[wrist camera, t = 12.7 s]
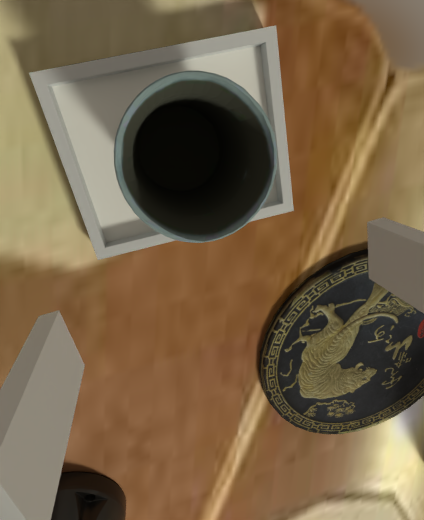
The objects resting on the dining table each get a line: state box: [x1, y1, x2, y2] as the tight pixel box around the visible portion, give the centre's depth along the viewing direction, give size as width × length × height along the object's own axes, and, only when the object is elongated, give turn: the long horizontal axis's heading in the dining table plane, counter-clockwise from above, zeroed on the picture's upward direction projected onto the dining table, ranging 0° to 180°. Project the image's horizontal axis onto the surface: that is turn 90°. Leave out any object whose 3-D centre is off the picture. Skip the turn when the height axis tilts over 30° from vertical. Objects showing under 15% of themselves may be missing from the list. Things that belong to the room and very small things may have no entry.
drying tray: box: [29, 26, 294, 260], centre depth 31 cm, size 20×16×2 cm
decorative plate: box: [259, 249, 424, 434], centre depth 46 cm, size 30×2×30 cm
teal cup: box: [114, 71, 277, 243], centre depth 26 cm, size 10×10×12 cm
